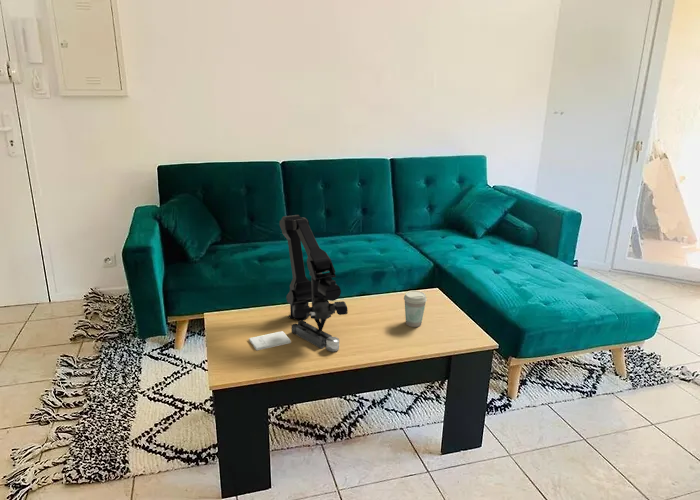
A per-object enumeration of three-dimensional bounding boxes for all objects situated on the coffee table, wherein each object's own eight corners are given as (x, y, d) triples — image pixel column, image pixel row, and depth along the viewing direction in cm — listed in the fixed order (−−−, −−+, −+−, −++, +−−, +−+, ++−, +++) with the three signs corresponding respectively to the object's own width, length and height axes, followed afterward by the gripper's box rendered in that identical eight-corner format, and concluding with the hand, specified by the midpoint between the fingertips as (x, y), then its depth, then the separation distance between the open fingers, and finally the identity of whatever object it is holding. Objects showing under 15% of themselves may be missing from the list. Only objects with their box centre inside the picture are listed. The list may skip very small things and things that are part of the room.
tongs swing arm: (342, 348, 180) (342, 339, 179) (332, 352, 176) (332, 344, 175) (302, 327, 194) (301, 319, 193) (291, 331, 190) (291, 323, 189)
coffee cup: (399, 326, 198) (401, 296, 194) (405, 317, 205) (407, 288, 201) (421, 330, 195) (423, 300, 191) (427, 321, 202) (429, 292, 198)
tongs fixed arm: (325, 346, 181) (325, 338, 180) (321, 348, 180) (321, 340, 179) (295, 330, 192) (295, 322, 191) (291, 332, 191) (291, 324, 190)
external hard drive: (290, 344, 183) (256, 352, 178) (282, 334, 190) (248, 341, 185) (290, 340, 183) (256, 347, 177) (282, 330, 190) (248, 337, 184)
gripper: (294, 301, 175) (296, 344, 179) (350, 297, 178) (350, 339, 182) (292, 289, 185) (293, 329, 190) (344, 285, 188) (344, 325, 193)
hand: (320, 331), depth 188 cm, fingers closed
